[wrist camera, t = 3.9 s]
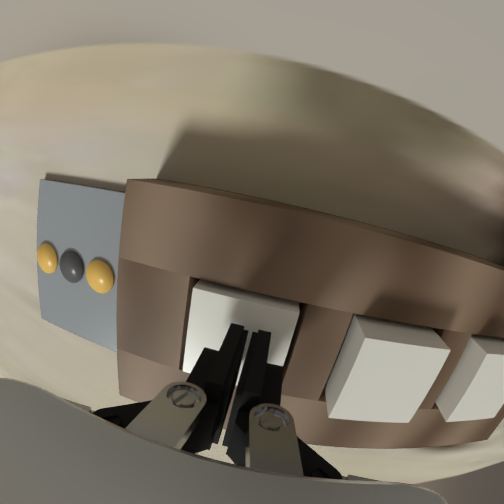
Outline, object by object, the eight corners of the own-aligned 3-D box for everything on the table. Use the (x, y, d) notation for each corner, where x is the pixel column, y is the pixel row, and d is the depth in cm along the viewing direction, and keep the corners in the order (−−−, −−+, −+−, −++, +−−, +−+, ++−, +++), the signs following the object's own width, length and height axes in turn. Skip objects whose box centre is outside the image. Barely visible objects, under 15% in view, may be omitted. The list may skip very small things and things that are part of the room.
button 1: (511, 339, 12) (530, 356, 10) (480, 397, 13) (493, 417, 11) (467, 333, 12) (487, 353, 10) (433, 398, 13) (445, 422, 11)
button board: (540, 280, 13) (566, 293, 10) (473, 416, 16) (487, 439, 13) (155, 178, 14) (127, 179, 12) (139, 368, 17) (119, 394, 15)
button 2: (297, 293, 14) (299, 312, 12) (275, 367, 15) (273, 393, 13) (206, 271, 14) (193, 287, 12) (195, 348, 15) (182, 371, 13)
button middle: (432, 327, 12) (450, 349, 10) (397, 396, 13) (408, 422, 11) (354, 313, 13) (365, 337, 10) (324, 388, 14) (328, 417, 12)
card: (128, 193, 15) (123, 193, 14) (119, 349, 17) (115, 353, 17) (44, 179, 15) (38, 179, 15) (45, 316, 18) (40, 319, 17)
